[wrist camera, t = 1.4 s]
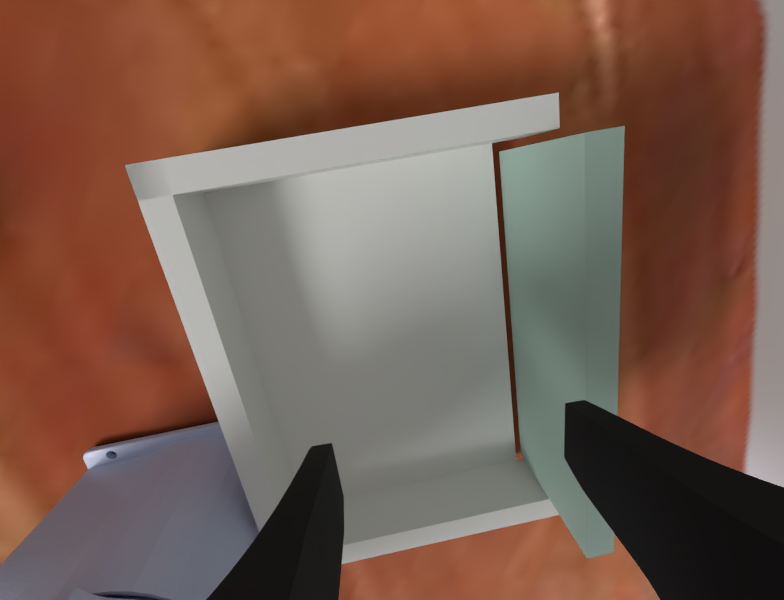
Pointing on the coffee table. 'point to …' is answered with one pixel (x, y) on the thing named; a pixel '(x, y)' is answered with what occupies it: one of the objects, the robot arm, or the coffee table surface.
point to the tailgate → (564, 302)
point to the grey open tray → (356, 316)
